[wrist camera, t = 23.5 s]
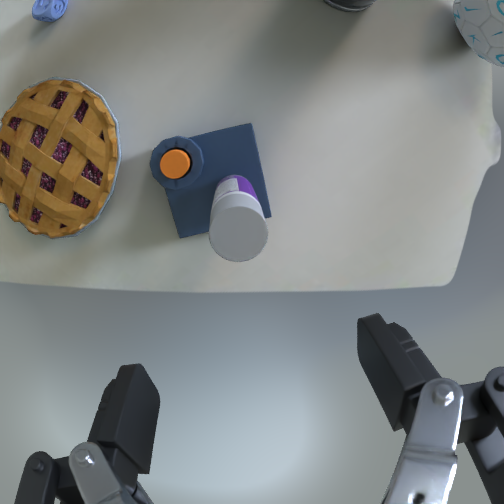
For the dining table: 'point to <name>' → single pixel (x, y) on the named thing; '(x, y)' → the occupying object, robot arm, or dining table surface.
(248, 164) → the scale
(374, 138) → the dining table surface
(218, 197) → the container
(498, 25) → the puzzle ball
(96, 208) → the pie
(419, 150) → the dining table surface
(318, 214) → the dining table surface
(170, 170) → the button
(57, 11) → the decorative dice
